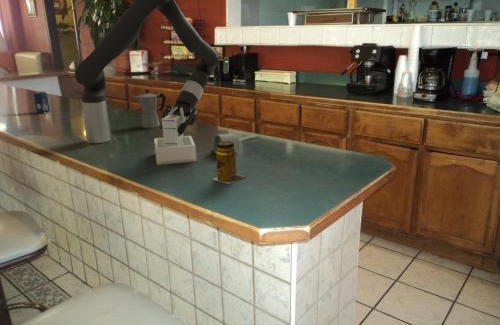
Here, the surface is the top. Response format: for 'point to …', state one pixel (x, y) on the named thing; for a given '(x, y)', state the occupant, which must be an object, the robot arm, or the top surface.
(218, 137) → the ceramic mug
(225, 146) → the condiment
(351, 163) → the top surface
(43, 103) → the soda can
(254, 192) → the top surface
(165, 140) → the syrup box
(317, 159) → the top surface
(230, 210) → the top surface
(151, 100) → the coffeepot
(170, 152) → the bin
